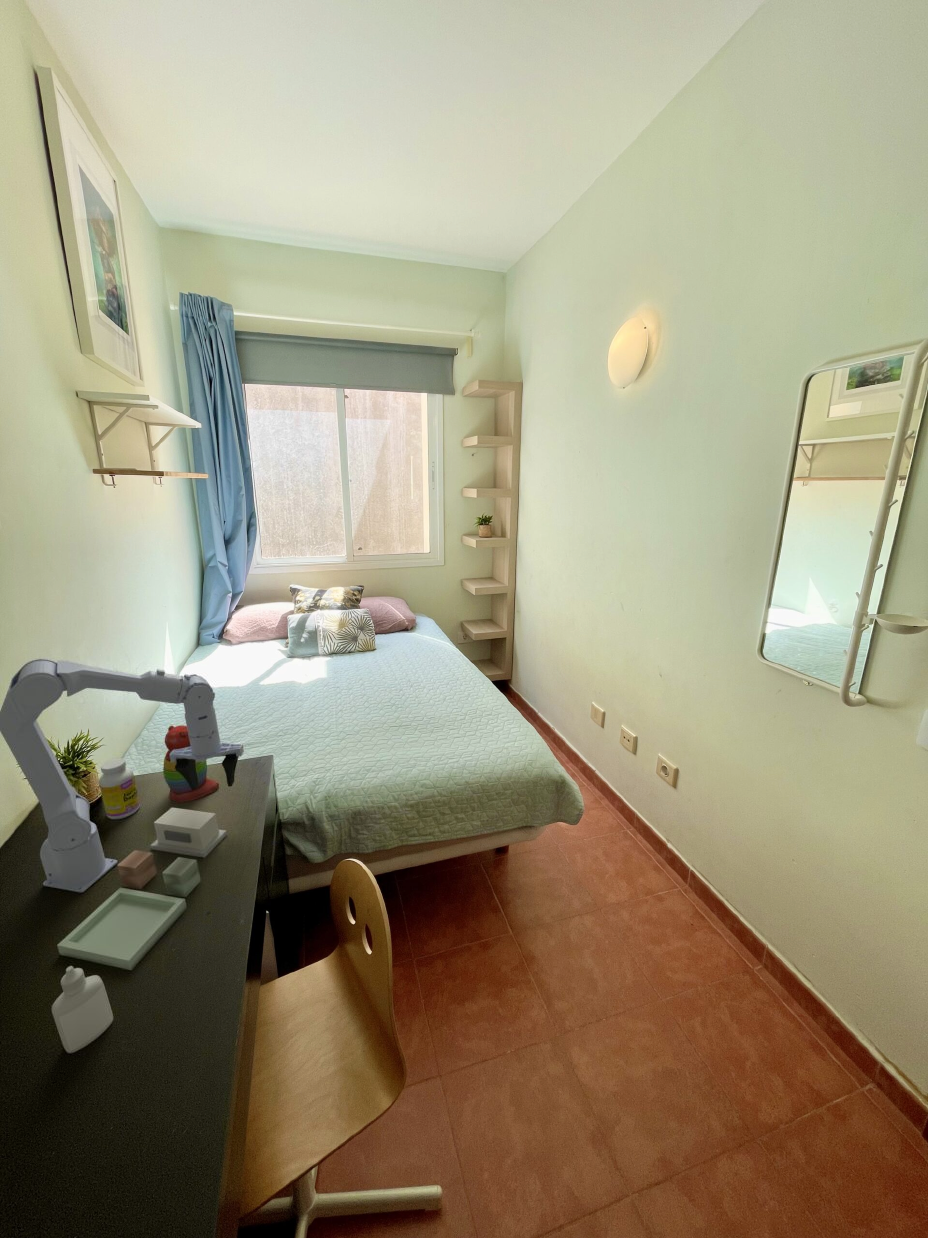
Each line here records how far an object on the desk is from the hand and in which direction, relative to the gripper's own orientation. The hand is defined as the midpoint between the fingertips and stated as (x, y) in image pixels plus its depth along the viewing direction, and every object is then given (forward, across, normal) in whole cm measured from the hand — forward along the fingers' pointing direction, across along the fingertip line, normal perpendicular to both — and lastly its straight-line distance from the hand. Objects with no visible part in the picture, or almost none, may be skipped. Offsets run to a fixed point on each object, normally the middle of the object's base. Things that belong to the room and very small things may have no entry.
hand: (213, 785), depth 110 cm
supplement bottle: (+10, -24, +8) cm, 27 cm away
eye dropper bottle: (+10, -3, -44) cm, 46 cm away
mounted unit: (+9, -4, -6) cm, 12 cm away
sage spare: (+10, 0, -19) cm, 21 cm away
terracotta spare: (+10, -10, -16) cm, 21 cm away
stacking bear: (+10, -11, +14) cm, 20 cm away
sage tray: (+9, -7, -27) cm, 30 cm away
